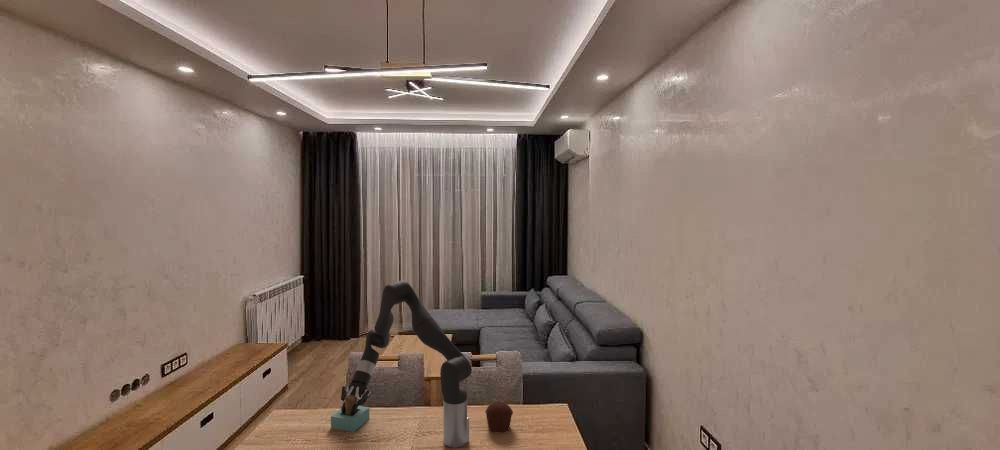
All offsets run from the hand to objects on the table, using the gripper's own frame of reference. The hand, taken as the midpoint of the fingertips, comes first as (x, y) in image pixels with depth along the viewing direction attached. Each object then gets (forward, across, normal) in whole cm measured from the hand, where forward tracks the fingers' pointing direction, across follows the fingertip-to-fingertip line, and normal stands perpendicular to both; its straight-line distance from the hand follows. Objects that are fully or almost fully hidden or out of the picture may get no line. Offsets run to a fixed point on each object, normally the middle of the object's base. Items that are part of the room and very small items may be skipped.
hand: (347, 412), depth 183 cm
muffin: (-8, +61, +16) cm, 64 cm away
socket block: (+3, 0, +5) cm, 6 cm away
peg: (+2, 0, +4) cm, 5 cm away
